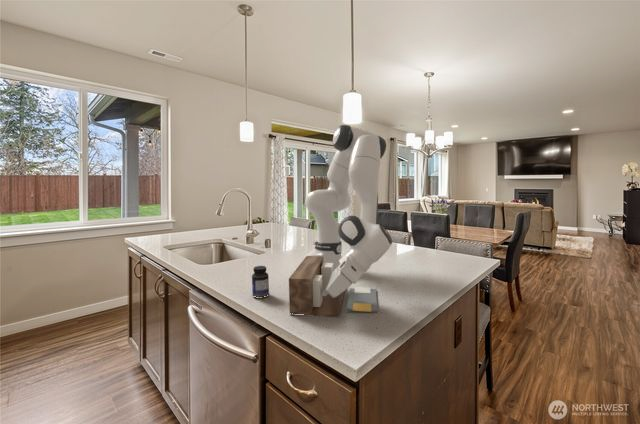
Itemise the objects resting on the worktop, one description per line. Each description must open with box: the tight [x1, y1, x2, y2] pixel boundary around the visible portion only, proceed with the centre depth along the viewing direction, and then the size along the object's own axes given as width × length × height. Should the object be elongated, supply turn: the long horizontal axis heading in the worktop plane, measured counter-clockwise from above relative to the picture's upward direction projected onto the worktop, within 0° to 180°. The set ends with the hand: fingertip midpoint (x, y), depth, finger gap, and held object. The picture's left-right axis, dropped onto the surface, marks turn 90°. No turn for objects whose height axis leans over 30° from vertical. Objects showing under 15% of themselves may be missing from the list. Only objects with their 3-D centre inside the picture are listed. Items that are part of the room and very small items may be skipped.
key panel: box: [288, 255, 345, 318], centre depth 110 cm, size 16×30×12 cm, turn 171°
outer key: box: [313, 275, 323, 307], centre depth 103 cm, size 4×6×9 cm, turn 172°
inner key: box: [321, 263, 333, 289], centre depth 118 cm, size 4×6×9 cm, turn 172°
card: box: [346, 286, 378, 313], centre depth 109 cm, size 10×22×1 cm, turn 171°
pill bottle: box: [251, 265, 270, 297], centre depth 114 cm, size 6×6×11 cm
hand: (323, 293), depth 102 cm, fingers closed, pressing on outer key
